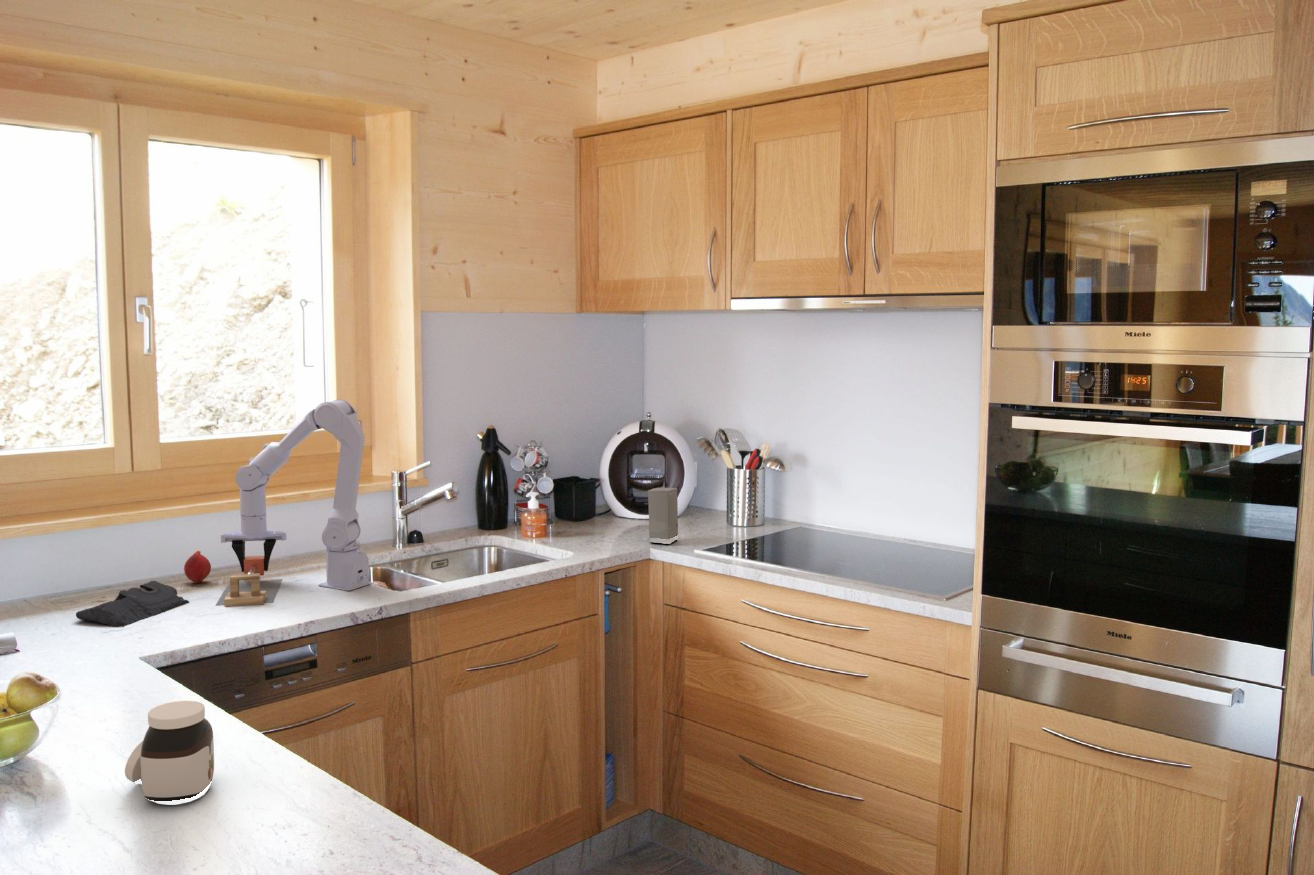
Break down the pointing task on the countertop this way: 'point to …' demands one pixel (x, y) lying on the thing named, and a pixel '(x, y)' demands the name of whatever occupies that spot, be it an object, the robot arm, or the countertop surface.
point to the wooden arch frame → (245, 597)
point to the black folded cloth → (134, 605)
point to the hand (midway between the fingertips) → (255, 570)
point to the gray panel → (265, 585)
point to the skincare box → (663, 513)
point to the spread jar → (174, 752)
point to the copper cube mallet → (254, 566)
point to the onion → (197, 567)
